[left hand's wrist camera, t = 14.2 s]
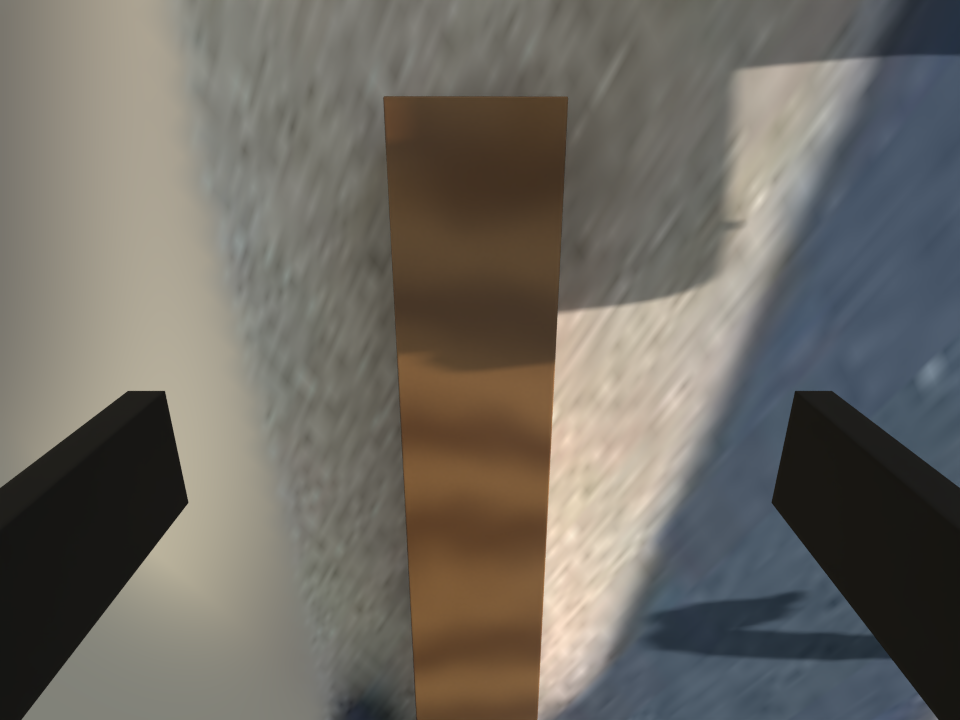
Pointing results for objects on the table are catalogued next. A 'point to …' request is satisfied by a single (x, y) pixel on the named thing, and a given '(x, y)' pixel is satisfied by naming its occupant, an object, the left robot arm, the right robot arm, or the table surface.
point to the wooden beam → (476, 386)
